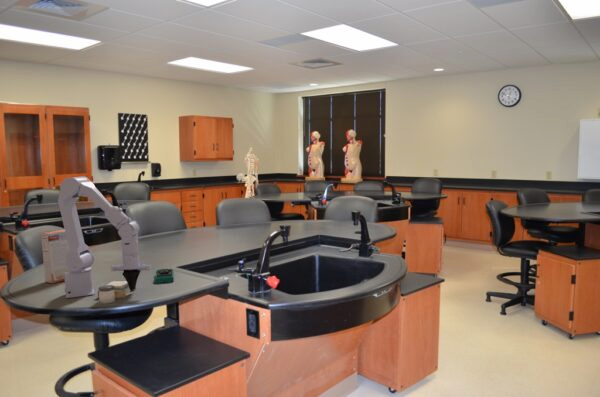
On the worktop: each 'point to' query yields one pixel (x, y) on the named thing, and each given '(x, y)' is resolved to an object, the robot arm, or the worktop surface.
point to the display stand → (118, 293)
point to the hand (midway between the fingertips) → (132, 289)
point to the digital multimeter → (164, 275)
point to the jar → (106, 294)
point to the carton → (120, 286)
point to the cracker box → (54, 255)
